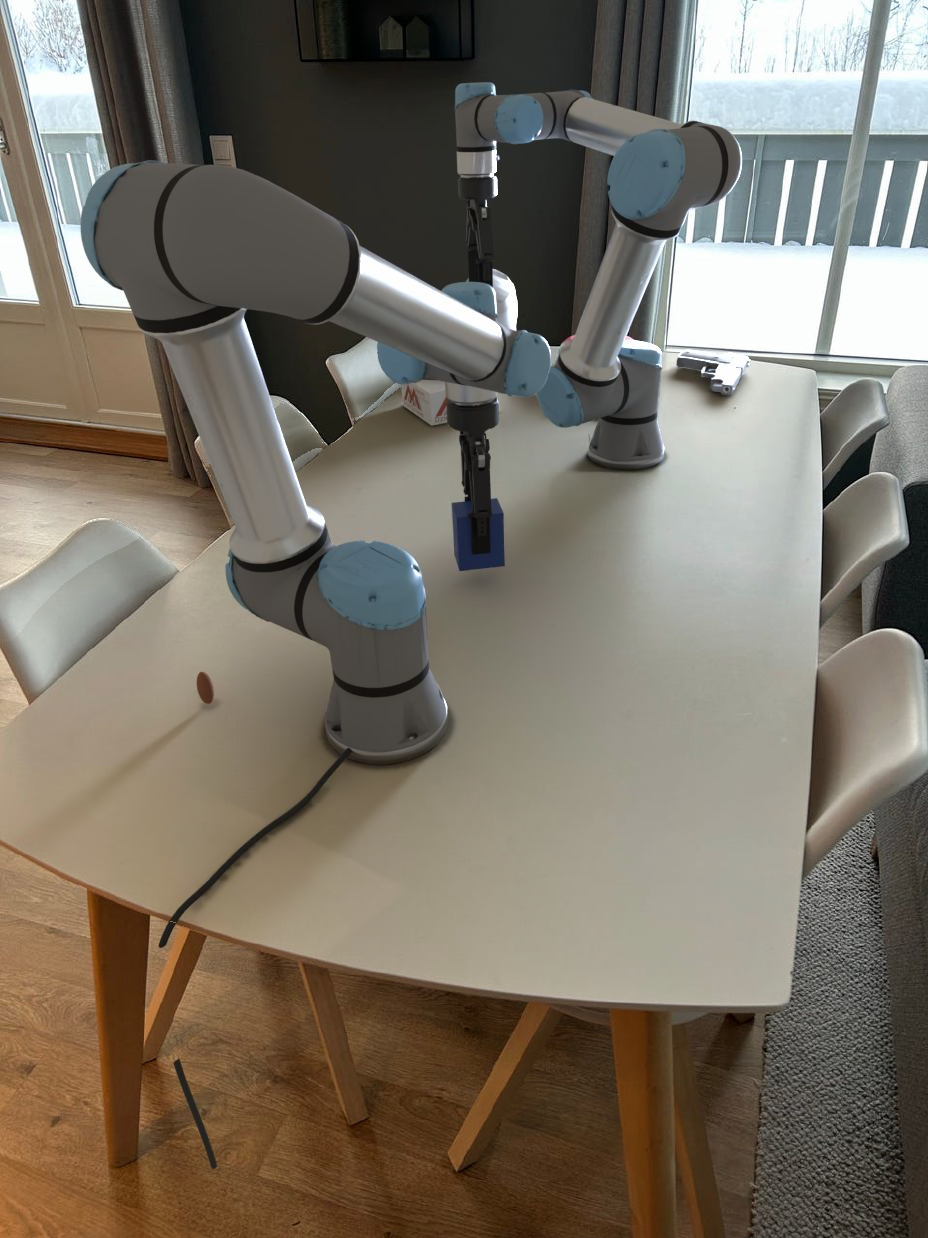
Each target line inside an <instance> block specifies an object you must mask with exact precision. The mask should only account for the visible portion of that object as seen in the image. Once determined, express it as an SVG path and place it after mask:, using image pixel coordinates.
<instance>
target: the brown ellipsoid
mask: <svg viewBox="0 0 928 1238" xmlns="http://www.w3.org/2000/svg"><path fill="white" fill-rule="evenodd" d="M196 689H197V694H198V695H199V698H200V700H201V701H202V702H203V703H204V704H206V705H210V704H211V703H212V702H213V701H214V699H215V688H214V683H213V680H212V679H211V677H210V675H209V674H208V673H207V672H206V671H200V672H199V673H198V674H197V677H196Z"/></svg>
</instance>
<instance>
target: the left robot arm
mask: <svg viewBox="0 0 928 1238" xmlns="http://www.w3.org/2000/svg"><path fill="white" fill-rule="evenodd" d="M79 228H80V237H81V244H82V247H83V248H82V249H83V251H84V254H85V256H86V258H87V260H88V262H89V264H90V266H91V267H92V269H93V270H94V271H95V272H96V274H97V275H98V276H99V277H100V278H101V279H102V280H104V281H105V282H106V283H107V284H108V285H110V286H111V287H112V288H114V289H117V290H119V291H123V293H124V296H125V298H126V300H127V303H128V305H129V308H130V311H131V312H132V314H133V317H134V319H135V322H136V325H137V327H138V329H139V331H141V332H142V333H143V334H145V335H147V336H150V337H152V338H154V339H156V340H158V341H160V342H161V344H162V347H163V349H164V352H165V355H166V356H167V359H168V362H169V364H170V366H171V369H172V372H173V374H174V376H175V379H176V382H177V384H178V387H179V390H180V391H181V394H182V397H183V399H184V402H185V404H186V407H187V410H188V411H189V415H190V417H191V419H192V422H193V425H194V426H195V429H196V432H197V434H198V436H199V440H200V442H201V444H202V447H203V449H204V452H205V454H206V457H207V459H208V461H209V464H210V467H211V469H212V471H213V474H214V477H215V479H216V483H217V484H218V486H219V489H220V492H221V494H222V497H223V500H224V503H225V505H226V507H227V510H228V513H229V514H230V516H231V519H232V522H233V524H234V526H235V528H234V530H233V532H232V533H231V535H230V537H229V549H228V553H227V557H228V558H229V561H228V562H227V563H225V579H226V584H227V587H228V589H229V592H230V593H231V595H232V597H233V598H234V599H235V601H236V602H237V603H238V604H239V605H240V606H241V607H242V608H243V609H245V610H246V611H248V612H249V613H251V614H252V615H254V616H255V617H257V618H259V619H261V620H264V621H265V622H268V623H272V624H274V625H277V626H279V627H281V628H283V629H285V630H288V631H290V632H292V633H295V634H297V635H299V636H301V637H303V638H306V639H308V640H310V641H312V642H315V643H317V644H319V645H322V646H324V647H326V649H327V650H328V652H329V657H330V663H331V664H330V665H331V671H332V677H333V681H332V685H331V689H330V692H329V697H328V701H327V705H326V710H325V713H324V720H323V721H324V727H325V728H324V729H325V733H326V738H327V741H328V743H329V745H330V746H331V748H333V749H334V750H335V751H336V752H337V753H338V754H339V755H340V756H338V758H336V760H335V761H334V762H333V763H332V765H331V766H330V767H329V768H328V769H327V770H326V771H325V772H324V774H322V776H321V778H320V779H319V780H318V781H317V782H316V783H315V785H314V786H313V787H312V789H311V790H310V791H309V792H308V793H307V794H306V795H305V796H304V797H303V798H302V799H301V800H300V801H298V802H297V804H295V805H294V806H292V807H291V808H290V809H289V810H287V811H286V812H284V813H282V814H281V815H279V817H277V818H276V819H274V820H273V821H271V822H270V823H268V824H266V825H265V827H263V828H262V829H261V830H259V831H258V832H257V833H255V834H254V835H253V836H252V837H251V838H250V839H248V840H247V841H246V842H245V843H244V844H243V845H241V846H240V847H239V848H238V849H237V850H236V851H235V852H234V853H233V854H232V855H231V856H230V857H229V858H228V859H227V860H226V861H225V862H224V863H223V864H222V865H221V866H220V867H219V868H218V869H216V871H215V872H214V873H213V874H212V875H211V876H210V877H209V878H208V879H207V881H205V882H204V884H202V885H201V887H199V888H198V889H197V890H196V891H195V892H193V894H191V895H190V896H189V897H188V898H187V899H186V900H185V901H184V902H182V904H181V905H180V906H179V907H178V908H177V909H176V910H175V912H174V913H173V915H172V916H171V917H170V919H169V920H168V922H167V924H166V926H165V927H164V930H163V932H162V934H161V937H160V940H159V942H158V948H159V949H162V948H163V949H164V948H165V947H166V946H167V945H168V942H169V939H170V937H171V935H172V933H173V930H174V928H175V926H176V924H177V923H178V922H179V920H180V919H181V918H182V916H183V915H184V914H185V912H186V911H187V910H188V909H189V908H191V906H192V905H193V904H194V903H195V902H197V901H198V900H199V899H200V898H201V897H202V896H204V894H206V893H207V892H208V891H209V890H210V889H211V888H212V887H213V886H214V885H215V884H216V883H217V882H218V880H219V879H221V878H222V876H223V875H224V874H225V873H226V872H227V871H228V870H229V869H230V868H231V867H232V866H233V865H234V864H235V863H236V862H237V861H238V860H239V859H240V858H241V857H242V856H243V855H244V854H245V853H246V852H247V851H249V850H250V849H251V848H252V847H254V845H255V844H256V843H258V842H259V841H260V840H262V838H263V837H265V836H266V835H268V834H269V833H271V831H273V830H274V829H276V828H277V827H278V826H280V825H282V824H283V823H284V822H286V821H287V820H289V819H290V818H291V817H293V816H294V815H296V814H297V813H298V812H299V811H300V810H301V809H303V808H304V807H305V806H306V805H307V804H309V802H311V801H312V799H313V798H315V796H316V795H317V794H318V792H319V791H320V790H321V789H322V787H324V786H325V784H326V782H327V781H328V780H329V779H330V778H331V777H332V775H333V774H334V773H335V772H336V771H337V769H338V768H339V767H340V766H342V764H343V763H344V761H345V760H346V759H349V760H352V761H355V762H358V763H363V764H368V765H390V764H391V765H392V764H398V763H402V762H406V761H409V760H412V759H415V758H417V757H420V756H422V755H424V754H426V753H427V752H429V751H430V750H432V749H433V748H434V747H436V746H437V745H438V743H440V742H441V740H442V739H443V738H444V736H445V734H446V732H447V729H448V725H449V720H448V719H449V717H448V705H447V703H446V699H445V697H444V695H443V693H442V690H441V687H440V685H439V684H438V682H437V681H436V679H435V678H434V675H433V673H432V671H431V669H430V659H429V657H430V656H429V655H430V654H429V640H428V639H429V637H428V621H427V619H428V618H427V596H426V593H427V592H426V589H425V586H424V580H423V575H422V574H423V573H422V571H421V567H420V566H419V564H418V562H417V561H416V559H415V558H414V557H413V556H412V555H411V554H410V553H408V552H407V551H405V550H404V549H402V548H400V547H398V546H396V545H394V544H391V543H387V542H382V541H377V540H373V541H372V542H366V541H365V540H353V541H349V542H344V543H342V544H339V545H335V544H334V543H333V542H332V539H331V536H330V533H329V530H328V527H327V524H326V520H325V518H324V516H323V513H322V512H321V511H320V510H319V509H318V508H316V507H314V506H312V505H310V504H309V505H308V504H307V503H306V500H305V498H304V494H303V491H302V488H301V486H300V483H299V480H298V476H297V473H296V471H295V468H294V465H293V462H292V459H291V456H290V455H291V454H290V452H289V449H288V446H287V444H286V441H285V437H284V435H283V431H282V429H281V428H282V427H281V426H280V422H279V420H278V416H277V413H276V411H275V407H274V405H273V401H272V398H271V396H270V393H269V390H268V387H267V383H266V381H265V378H264V377H265V376H264V375H263V371H262V368H261V366H260V362H259V360H258V356H257V354H256V353H257V352H256V350H255V348H254V347H255V346H254V345H253V341H252V338H251V336H250V332H249V329H248V327H247V323H246V321H245V314H246V312H247V310H251V311H259V312H266V313H271V314H272V313H273V314H278V315H281V316H286V317H289V318H292V319H295V320H297V321H300V322H302V323H304V324H307V325H312V326H313V325H315V326H316V325H322V324H325V323H328V322H330V323H333V324H335V325H336V326H339V327H342V328H344V329H347V330H349V331H351V332H354V333H356V334H359V335H361V336H363V337H365V338H367V339H370V340H373V341H375V342H377V343H376V350H377V352H376V354H377V360H378V364H379V367H380V368H381V370H382V372H383V374H384V375H386V377H387V378H388V379H389V380H391V381H392V382H393V383H396V384H397V385H401V384H403V385H405V384H410V383H417V382H419V381H421V380H422V379H425V378H429V379H434V380H439V381H444V382H445V395H446V397H447V398H448V401H447V403H446V406H447V423H446V424H447V425H448V426H449V428H451V429H452V430H453V431H456V432H459V435H458V442H459V446H460V463H461V465H460V466H461V485H462V487H463V494H464V501H471V503H472V513H467V515H468V518H471V533H472V553H473V555H474V554H483V553H491V552H490V520H489V517H491V516H492V511H491V499H492V490H491V459H492V455H491V454H490V453H489V451H490V449H491V447H490V446H491V445H490V438H487V431H489V430H492V429H494V428H496V427H497V426H498V424H499V423H500V400H499V399H498V395H499V394H503V395H507V396H508V397H513V396H516V397H521V398H531V397H533V396H536V395H537V393H538V392H539V391H540V390H541V389H542V388H543V386H544V385H545V383H546V381H547V378H548V374H549V370H550V367H551V366H552V352H551V348H550V345H549V343H548V341H547V340H546V338H545V337H543V336H542V335H541V334H538V333H533V332H530V331H529V332H528V330H526V329H522V330H517V329H516V330H513V329H510V328H507V327H505V326H504V325H502V324H500V323H498V322H497V318H498V314H497V308H496V296H495V291H494V289H493V288H492V287H491V286H490V285H488V284H485V283H480V282H466V281H462V282H461V281H460V282H453V283H450V284H447V285H445V286H444V287H443V288H442V289H441V290H440V289H438V288H436V287H434V286H433V285H431V284H429V283H427V282H425V281H423V280H422V279H420V278H418V277H417V276H415V275H413V274H412V273H410V272H408V271H407V270H404V269H402V268H401V267H399V266H397V265H396V264H394V263H392V262H390V261H388V260H386V259H385V258H382V257H381V256H379V255H377V254H376V253H374V252H372V251H370V250H368V249H367V248H366V247H363V246H361V244H360V243H359V240H358V238H357V236H356V233H354V231H353V229H351V228H350V227H349V225H347V224H345V223H344V222H342V221H341V220H339V219H337V218H335V217H334V216H333V215H332V216H331V215H330V214H328V213H326V212H324V211H323V210H321V209H319V208H318V207H317V206H315V205H313V204H311V203H310V202H307V201H306V200H305V199H302V198H301V197H299V196H297V195H296V194H294V193H292V192H290V191H288V190H287V189H284V188H283V187H280V186H279V185H277V184H275V183H274V182H272V181H270V180H267V179H266V178H263V177H261V176H259V175H256V174H254V173H252V172H249V171H246V170H245V169H241V168H238V167H235V166H232V165H231V166H230V165H222V164H221V165H220V164H190V163H189V164H188V163H169V162H168V163H166V162H163V161H159V160H152V159H151V160H150V159H149V160H145V161H144V160H143V161H139V162H136V163H135V162H131V163H124V164H121V165H120V164H119V165H116V166H114V167H112V168H110V169H109V170H107V171H106V172H104V173H103V174H101V176H100V177H98V179H96V181H95V182H94V183H93V184H92V186H91V187H90V189H89V191H88V193H87V196H86V199H85V203H84V205H83V207H82V209H81V214H80V227H79ZM496 396H497V397H496ZM170 921H173V922H176V923H173V922H170ZM173 1066H174V1070H175V1073H176V1075H177V1078H178V1082H179V1084H180V1087H181V1090H182V1092H183V1094H184V1097H185V1099H186V1100H185V1101H186V1103H187V1105H188V1108H189V1110H190V1113H191V1115H192V1117H193V1120H194V1122H195V1125H196V1128H197V1130H198V1134H199V1135H200V1138H201V1141H202V1143H203V1147H204V1149H205V1152H206V1156H207V1159H208V1162H209V1165H210V1168H211V1169H212V1170H215V1169H217V1167H218V1163H217V1159H216V1156H215V1153H214V1150H213V1147H212V1144H211V1140H210V1138H209V1135H208V1133H207V1130H206V1127H205V1124H204V1121H203V1119H202V1117H201V1114H200V1111H199V1109H198V1106H197V1104H196V1102H195V1099H194V1095H193V1093H192V1091H191V1088H190V1085H189V1083H188V1080H187V1077H186V1075H185V1071H184V1069H183V1065H182V1062H181V1059H180V1058H177V1059H176V1060H175V1061H173Z"/></svg>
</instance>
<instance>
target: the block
mask: <svg viewBox="0 0 928 1238" xmlns="http://www.w3.org/2000/svg"><path fill="white" fill-rule="evenodd" d="M491 511H492V516H491V517H489V520H490V552H491V553H483V554H474V555H473V553H472V533H471V518H468V515H467V513H472V503H471V501H465V500H464V501H456V502H455V501H454V502H451V517H452V519H451V520H452V539H453V554H454V558H455V561H456V565H457V568H458V571H459V572H466V571H473V570H474V571H475V570H483V569H493V568H503V567H505V566H506V565H505V564H506V557H505V555H506V554H505V552H506V551H505V514H504V510H503V509H502V506H501V504H500V501H499V499H498V498H497V497H493V498H491Z"/></svg>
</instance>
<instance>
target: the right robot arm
mask: <svg viewBox="0 0 928 1238" xmlns="http://www.w3.org/2000/svg"><path fill="white" fill-rule="evenodd" d="M454 92H455V93H454V94H455V95H454V100H455V102H454V116H455V117H454V118H455V136H456V167H457V168H456V170H457V171H456V172H457V174H458V175H459V176H460V177H458V179H457V186H458V187H457V189H458V197H459V199H462V200H466V225H465V226H466V227H465V229H466V231H465V244H466V248H467V269H468V270H467V273H468V278H469V282H480V283H485V284H488V285H490V286H491V287H492V288H493V269H494V268H493V262H494V261H495V259H496V257H495V251H494V240H493V239H494V238H493V229H492V228H493V227H492V220H491V219H492V218H491V211H492V208H491V206H490V205H488V204H487V200H489V199H494V198H496V197H497V195H498V178H497V175H494V174H495V173H496V172H497V161H499V160H500V155H499V154H497V143H507V144H511V145H518V144H521V145H522V144H527V143H531V142H533V141H539V140H549V139H562V140H565V141H568V142H572V143H575V144H578V145H581V146H583V147H587V148H589V149H592V150H594V151H595V150H596V151H598V152H601V153H604V154H607V155H610V156H613V158H612V160H611V163H610V165H609V169H608V173H607V183H606V184H607V186H609V190H608V191H607V194H608V199H609V201H610V204H611V208H610V212H611V215H612V217H613V219H614V222H615V223H614V224H615V225H614V227H613V229H612V233H611V236H610V238H609V240H608V243H607V247H606V249H605V252H604V255H603V258H602V260H601V262H600V265H599V268H598V271H597V273H596V275H595V280H594V282H593V285H592V287H591V290H590V293H589V295H588V298H587V302H586V304H585V307H584V309H583V312H582V315H581V317H580V319H579V323H578V326H577V328H576V331H575V334H574V335H575V336H574V335H573V336H574V339H573V340H571V341H568V342H567V343H565V344H564V345H563V346H562V348H561V351H560V353H559V356H558V359H557V362H556V364H555V365H554V366H552V365H551V367H550V370H549V374H548V378H547V381H546V383H545V385H544V386H543V388H542V389H541V390H540V391H539V392H538V393H537V394H536V397H537V401H538V403H539V406H540V409H541V411H542V413H543V415H544V416H545V418H547V420H548V421H549V422H550V423H551V424H552V425H554V426H556V427H559V428H563V429H565V428H571V427H579V426H581V425H584V424H586V423H589V422H592V421H596V420H598V421H597V423H596V426H595V428H594V431H593V434H592V437H591V436H590V435H588V442H589V445H588V458H589V459H590V460H591V461H592V462H593V463H595V464H597V465H599V466H601V467H605V468H610V469H618V470H639V469H646V468H649V467H652V466H653V467H654V466H655V465H657V464H659V463H661V462H662V461H663V459H664V457H665V446H664V445H665V444H664V440H663V438H662V433H661V430H660V426H659V422H658V414H659V404H660V393H661V380H662V370H663V366H662V356H663V355H662V351H661V349H660V347H658V346H657V345H656V344H652V343H650V342H646V341H640V340H635V339H633V340H625V337H626V336H628V333H629V330H630V327H631V325H632V323H633V321H634V318H635V315H636V313H637V311H638V309H639V306H640V304H641V301H642V299H643V296H644V294H645V292H646V289H647V288H648V285H649V283H650V281H651V278H652V276H653V272H654V271H655V268H656V265H657V263H658V261H659V258H660V256H661V254H662V251H663V248H664V246H665V243H666V242H667V241H670V240H673V239H675V238H676V237H678V236H679V235H680V232H681V230H682V228H683V226H684V223H685V221H686V219H687V217H688V214H689V212H690V211H691V210H695V209H696V210H697V209H700V208H706V207H710V206H712V205H714V204H717V203H719V202H720V201H722V200H723V199H725V197H726V196H727V195H728V194H729V193H731V191H732V190H733V189H734V188H735V186H736V184H737V181H738V180H739V178H740V175H741V172H742V165H743V154H742V149H741V147H740V143H739V142H738V140H737V139H736V137H735V136H734V135H733V133H731V132H730V131H729V130H728V129H727V128H724V127H723V126H719V125H715V124H709V123H706V122H702V121H697V120H688V121H686V122H684V123H678V122H674V121H672V120H668V119H665V118H660V117H657V116H654V115H651V114H647V113H643V112H639V111H636V110H633V109H630V108H627V107H626V108H625V107H622V106H618V105H615V104H611V103H608V102H604V101H601V100H599V99H598V100H597V99H594V98H593V97H592V95H591V94H590V93H589V92H588V91H586V90H577V89H568V90H560V91H549V92H548V91H547V92H533V93H532V92H531V93H518V94H516V93H515V94H499V95H497V93H496V86H495V84H494V83H493V82H489V81H487V82H486V81H485V82H466V83H463V82H462V83H459V84H457V86H456V87H455V91H454ZM487 205H488V206H487Z"/></svg>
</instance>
